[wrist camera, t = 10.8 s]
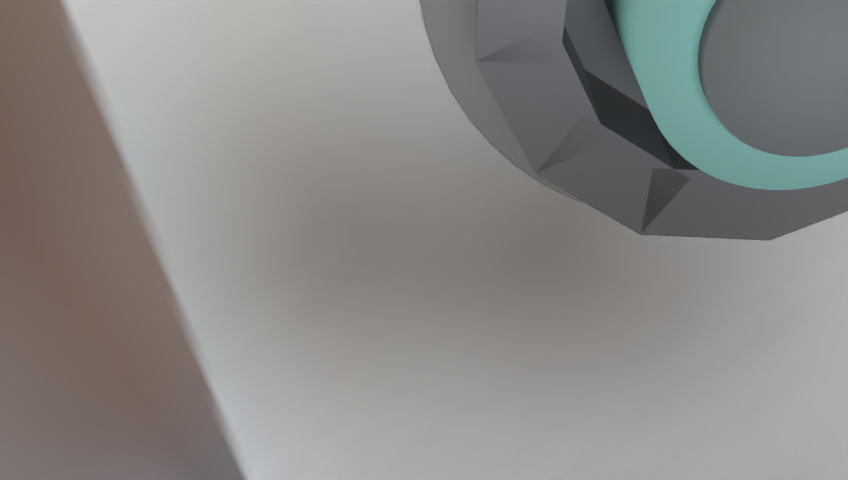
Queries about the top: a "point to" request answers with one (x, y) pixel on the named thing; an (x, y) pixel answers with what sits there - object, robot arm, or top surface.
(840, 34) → the teal capped cylinder
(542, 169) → the ring
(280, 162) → the top surface
